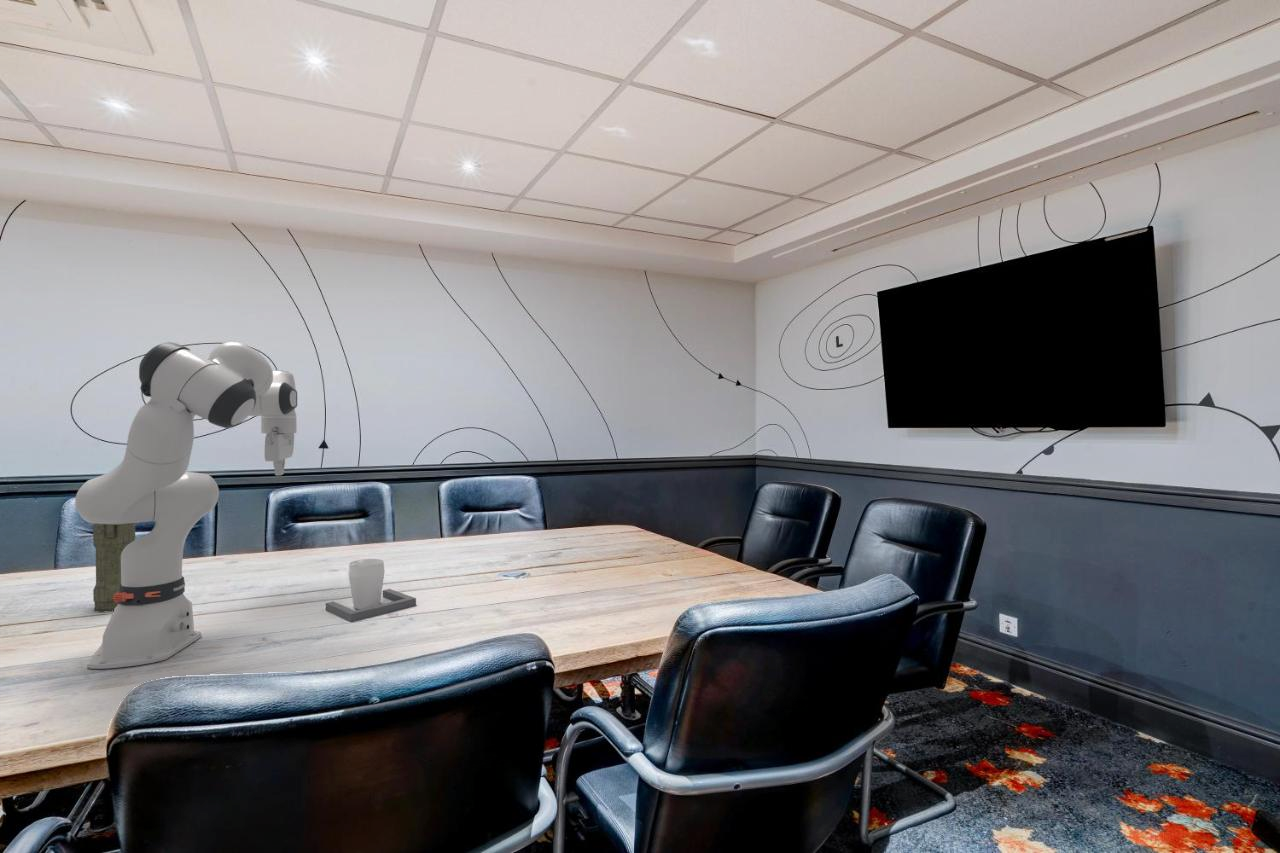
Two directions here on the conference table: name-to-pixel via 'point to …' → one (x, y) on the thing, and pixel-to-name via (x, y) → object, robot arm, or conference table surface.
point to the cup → (366, 582)
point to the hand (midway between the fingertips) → (279, 475)
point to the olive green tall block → (109, 561)
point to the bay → (398, 603)
